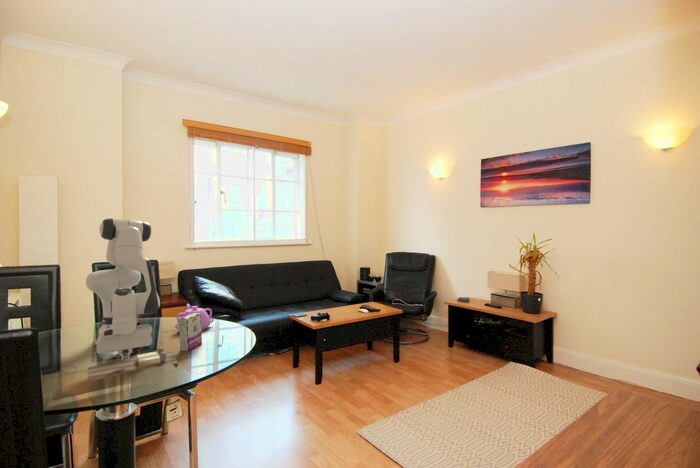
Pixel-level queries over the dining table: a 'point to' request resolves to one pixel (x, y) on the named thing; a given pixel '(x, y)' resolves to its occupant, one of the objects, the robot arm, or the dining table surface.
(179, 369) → the dining table surface
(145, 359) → the birch plate
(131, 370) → the board
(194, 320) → the candy bar box
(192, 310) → the teapot
